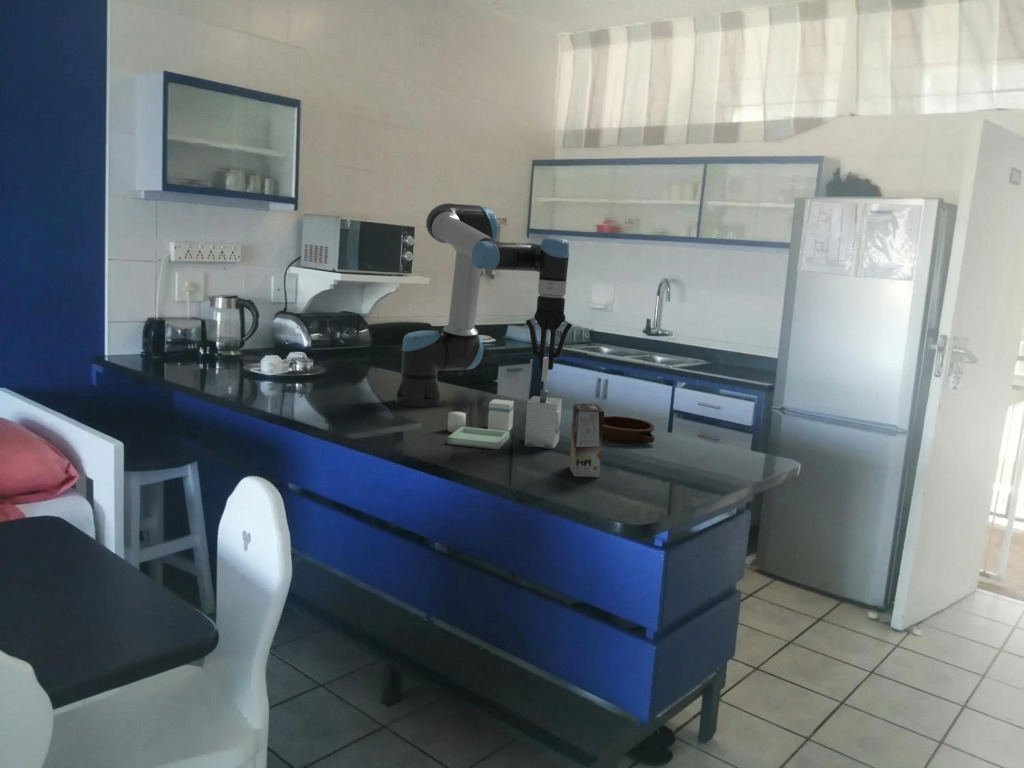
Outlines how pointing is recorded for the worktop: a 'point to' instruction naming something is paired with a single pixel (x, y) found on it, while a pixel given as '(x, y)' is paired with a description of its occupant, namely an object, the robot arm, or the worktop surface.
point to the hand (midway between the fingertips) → (544, 380)
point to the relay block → (500, 415)
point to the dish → (627, 430)
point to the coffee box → (586, 440)
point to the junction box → (543, 421)
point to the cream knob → (456, 420)
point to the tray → (478, 437)
